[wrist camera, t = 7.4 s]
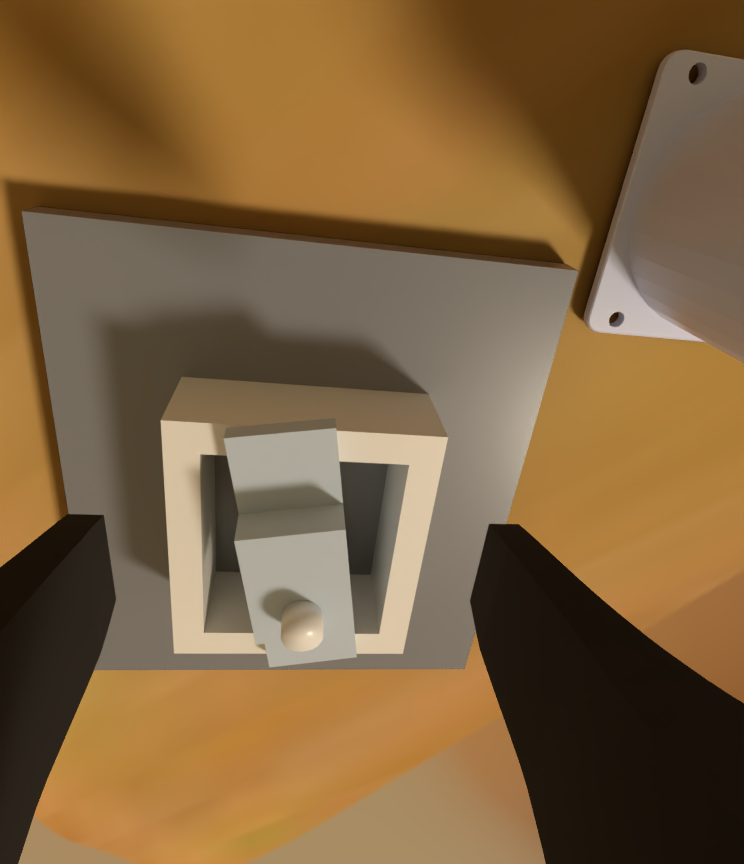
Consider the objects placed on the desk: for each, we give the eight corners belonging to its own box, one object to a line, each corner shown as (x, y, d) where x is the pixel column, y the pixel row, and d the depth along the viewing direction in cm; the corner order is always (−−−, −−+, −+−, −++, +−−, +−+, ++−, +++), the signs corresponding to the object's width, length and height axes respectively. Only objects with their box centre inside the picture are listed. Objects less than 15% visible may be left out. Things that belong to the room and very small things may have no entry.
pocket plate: (565, 263, 19) (626, 296, 15) (459, 651, 27) (482, 730, 23) (37, 206, 16) (-38, 229, 13) (100, 650, 24) (66, 738, 21)
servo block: (331, 375, 18) (340, 467, 14) (349, 583, 23) (361, 709, 18) (237, 383, 18) (213, 479, 13) (274, 591, 23) (265, 721, 18)
